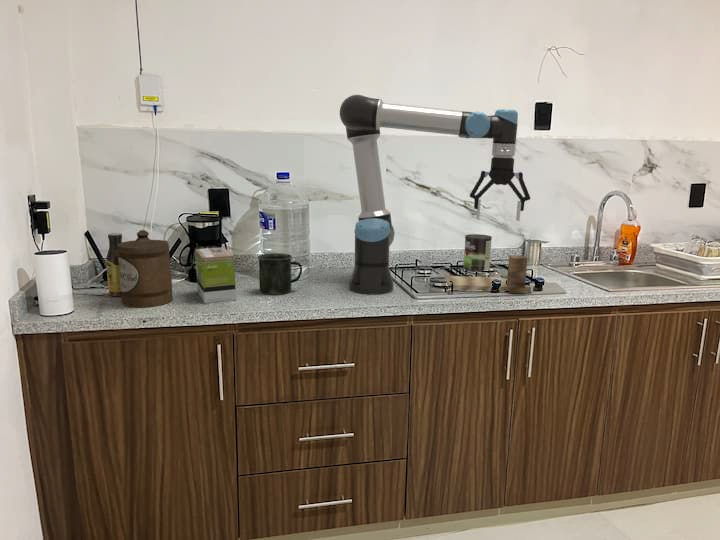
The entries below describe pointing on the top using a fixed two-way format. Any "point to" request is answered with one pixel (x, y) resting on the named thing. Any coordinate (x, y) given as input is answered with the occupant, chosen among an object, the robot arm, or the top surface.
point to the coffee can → (477, 252)
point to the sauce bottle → (113, 264)
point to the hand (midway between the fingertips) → (497, 219)
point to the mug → (276, 273)
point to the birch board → (478, 283)
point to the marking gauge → (517, 273)
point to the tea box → (215, 274)
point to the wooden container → (145, 272)
